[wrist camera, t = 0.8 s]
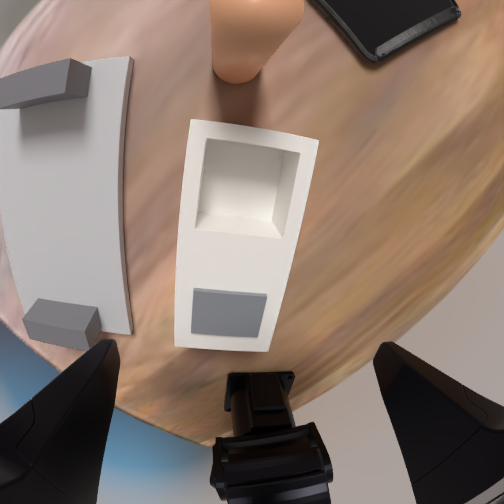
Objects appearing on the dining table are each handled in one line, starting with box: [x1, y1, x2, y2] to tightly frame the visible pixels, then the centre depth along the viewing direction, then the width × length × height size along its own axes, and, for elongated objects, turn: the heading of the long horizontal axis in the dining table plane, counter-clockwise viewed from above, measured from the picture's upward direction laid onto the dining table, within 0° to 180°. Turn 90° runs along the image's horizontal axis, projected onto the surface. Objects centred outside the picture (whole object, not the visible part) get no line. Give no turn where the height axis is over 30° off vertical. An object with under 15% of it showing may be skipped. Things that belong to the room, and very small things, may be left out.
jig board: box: [0, 56, 134, 351], centre depth 14 cm, size 20×11×4 cm, turn 173°
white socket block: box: [174, 119, 319, 352], centre depth 16 cm, size 13×6×5 cm, turn 171°
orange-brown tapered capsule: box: [210, 0, 304, 84], centre depth 10 cm, size 3×3×9 cm
